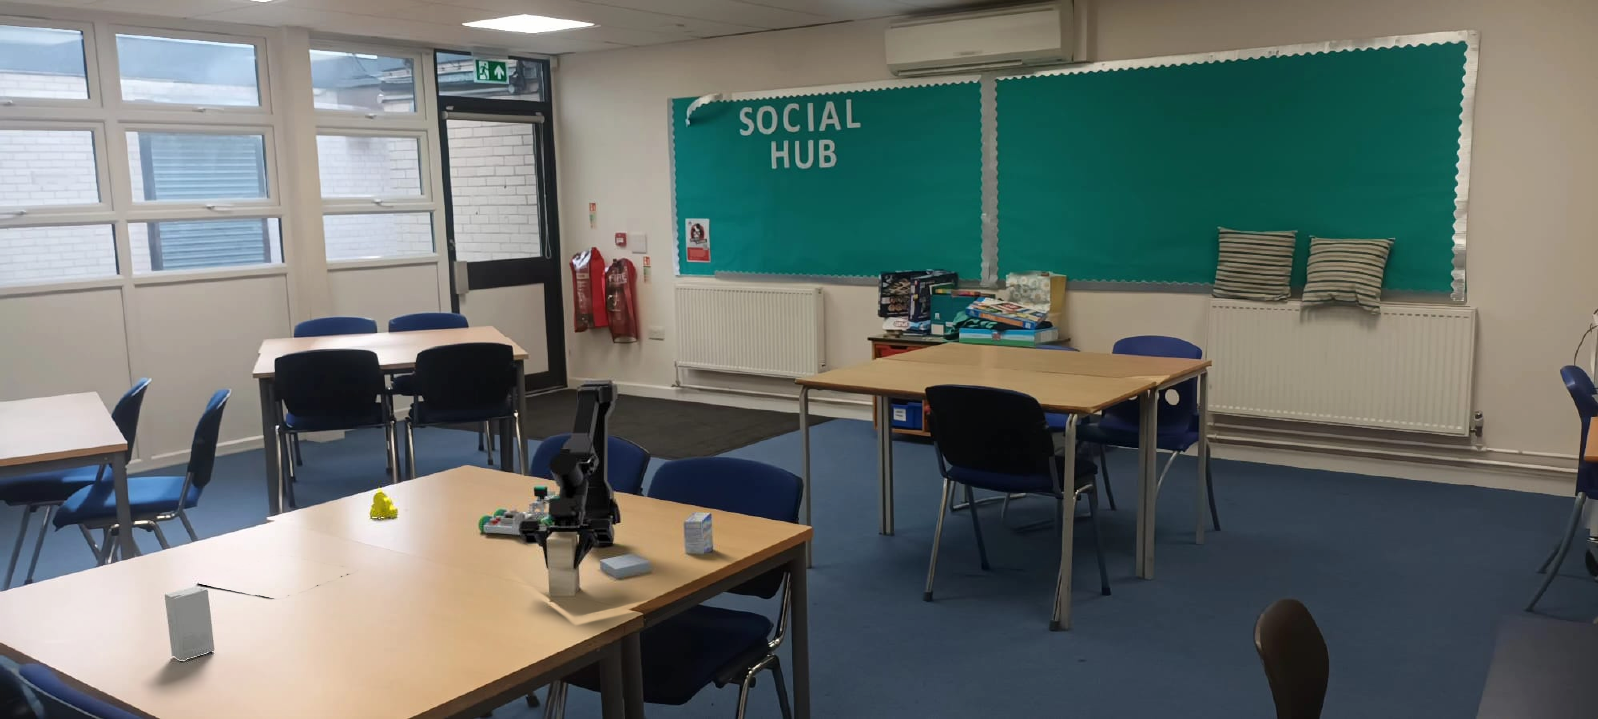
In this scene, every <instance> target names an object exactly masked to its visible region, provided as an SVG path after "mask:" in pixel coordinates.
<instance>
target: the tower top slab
mask: <svg viewBox="0 0 1598 719" xmlns="http://www.w3.org/2000/svg"><path fill="white" fill-rule="evenodd" d="M599 568H600V569H599V570H603V571H604V572H606V573H608V574H609V575H611V576H613V577H615V578H620V577H625V576H629V575H634V574H638V573H643V572H648V571H650V569H651V561H650V560H648V559H646V558H644V557H641V556H640V555H639V554H636V553H634V552H633V553H628V554H622V555H619V556H614V557H608V558H604V559H600V560H599Z"/></svg>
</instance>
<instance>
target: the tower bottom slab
mask: <svg viewBox="0 0 1598 719" xmlns="http://www.w3.org/2000/svg"><path fill="white" fill-rule="evenodd" d="M596 571H597V572H598V573H601V574H602V575H603V576H606V577H607V578H609V579H611V580H613V581H615V582H616V581H620V580H624V579H629V578H634V577H638V576H641V575H646V574H651V573H652V574H653V573H657V572H658V570H656V569H655V568H653V569H652V568H650V571H648V572H643V573H638V574H634V575H629V576H625V577H620V578H615V577H613V576H611V575H609V574H608V573H606V572H604V571H603V570H601V569H596Z"/></svg>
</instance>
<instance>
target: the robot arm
mask: <svg viewBox="0 0 1598 719" xmlns="http://www.w3.org/2000/svg"><path fill="white" fill-rule="evenodd" d="M618 393H619V392H618V385H617V384H613V380H611V379H600V380H599V379H598V380H597V379H594V380H593V379H592V380H591V379H589V380H585V381H584V382H583V384H580V385H577V386H576V400H577V406H576V412H575V417H574V423H573V427H572V428H573V429H572V431H571V432H572V433H571V437H570V438H568V440H566V441H565V442H564V444H563V447H562V448H561V450H560V452H559V453H556V455H554V456H553V457H552V458H551V460H550V461H549V464H548V465H549V469H550V470H549V471H550V472H551V475H552V477H553V480H554V481H555V483H556V486H557V487H559V491H558V492H559V493H558V494H559V497H558V498H555V499H549V503H548V511H547V512H548V514H549V515H551V521H552V522H554V526H548V525H547V524H542V523H541V521H540V519H539V518H538V519H527V520H523V521H522V522H521V523H520V525H519V529H518V530H519V532H520V534H521V535H520V537H521V538H522V540H523V542H524V543H525V544H530V545H531V544H532V545H533V544H534V545H536V544H537V545H538V547H541V548H542V551H543V556H544V557H543V558H544V561H545V567H546V569H547V570H548V559H547V538H548V537H549V536H550V535H551V534H552V533H553V532H577V536H578V546H577V550H576V554H575V559H574V569H577V568H578V566H579V567H580V565H581V563H582V562H583V560H584V559H585V557H586V556H587V555H588V554H589V552H590V551H591V550H592V549H593V548H599V549H605V548H611V547H613V546H614V544H615V543H614V541H615V529H614V526H617V524H621V522H622V518H621V510H620V507H619V504H618V502H617V499H616V498H615V492H614V489H612V488H613V487H611V486H612V485H611V484H610V483H609V481H608V448H609V447H608V446H609V445H608V442H609V441H608V438H609V436H608V435H609V434H608V432H609V417H610V416H611V414H612V413H613V411H614V409H615V407H616V400H617V399H618ZM585 476H587V477H585ZM548 514H547V515H548Z"/></svg>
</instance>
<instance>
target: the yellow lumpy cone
mask: <svg viewBox="0 0 1598 719" xmlns="http://www.w3.org/2000/svg"><path fill="white" fill-rule="evenodd" d="M372 498H373V499H372V502H373V504H371V505H370V507H371V508H370V512H369V518H370V517H377V518H381V517H386V518H388V517H394V518H397V517H398V514H399V511H398V508H396V507H395V506H394V502H393V500H392V498H391V497H388V495H387V494H386V493H385V492H383V491H382V489H381V488H380V487H378V489H377V492H375V494H374V495H373V497H372ZM397 513H398V514H397ZM396 516H397V517H396Z"/></svg>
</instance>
